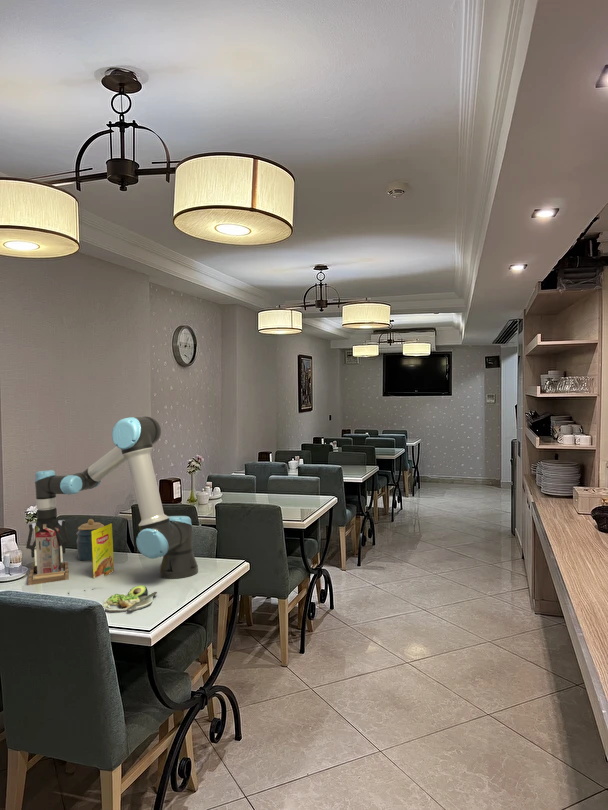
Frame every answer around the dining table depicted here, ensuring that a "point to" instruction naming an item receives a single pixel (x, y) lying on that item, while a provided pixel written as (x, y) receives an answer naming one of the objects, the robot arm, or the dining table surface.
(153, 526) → the robot arm
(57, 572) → the upper oak offcut
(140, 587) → the salad plate
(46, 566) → the juice carton
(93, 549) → the food package
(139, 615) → the dining table surface
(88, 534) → the canister
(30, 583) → the walnut rack
